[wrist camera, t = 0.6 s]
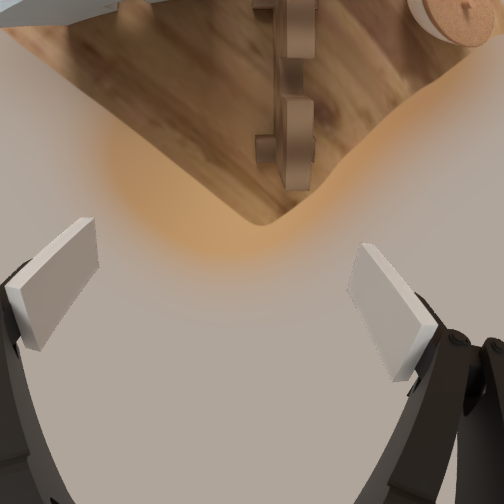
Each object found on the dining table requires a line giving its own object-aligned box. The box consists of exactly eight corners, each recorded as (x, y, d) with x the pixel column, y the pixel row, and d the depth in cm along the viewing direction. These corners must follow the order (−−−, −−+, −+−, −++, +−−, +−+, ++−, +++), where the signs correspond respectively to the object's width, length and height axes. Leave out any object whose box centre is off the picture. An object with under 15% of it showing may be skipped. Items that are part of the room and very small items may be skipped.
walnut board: (251, -14, 25) (257, -36, 17) (313, -11, 26) (339, -29, 18) (255, 157, 38) (262, 192, 30) (310, 156, 39) (331, 190, 31)
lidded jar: (410, -44, 21) (451, -56, 14) (467, 6, 24) (512, 8, 17) (380, 9, 27) (419, 4, 19) (441, 57, 30) (485, 67, 22)
